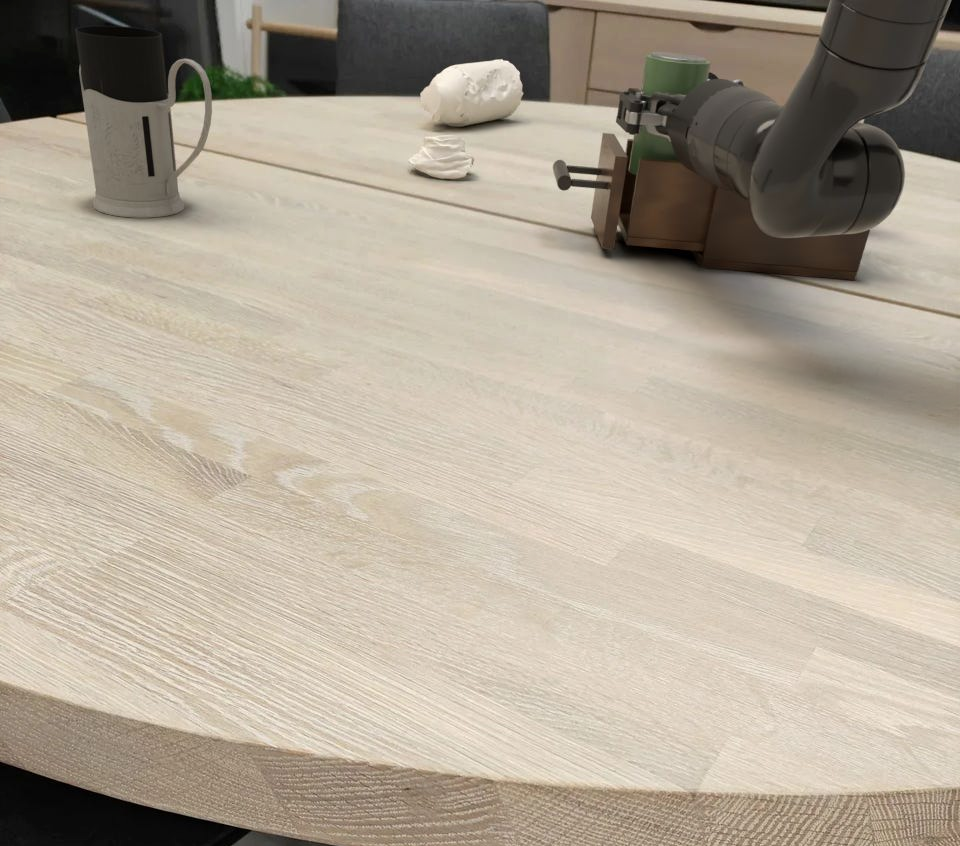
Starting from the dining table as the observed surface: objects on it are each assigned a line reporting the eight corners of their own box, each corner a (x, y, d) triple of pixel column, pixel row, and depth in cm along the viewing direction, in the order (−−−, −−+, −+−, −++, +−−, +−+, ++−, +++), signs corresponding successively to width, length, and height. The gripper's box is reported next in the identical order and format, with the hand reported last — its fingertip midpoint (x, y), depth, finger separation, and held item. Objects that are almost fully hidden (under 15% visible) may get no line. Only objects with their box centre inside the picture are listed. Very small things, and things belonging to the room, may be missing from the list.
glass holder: (135, 190, 104) (115, 22, 95) (246, 216, 100) (236, 43, 91) (73, 205, 98) (45, 27, 89) (189, 234, 93) (173, 50, 84)
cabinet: (700, 267, 98) (724, 156, 92) (679, 232, 108) (699, 130, 102) (855, 280, 99) (888, 170, 93) (819, 244, 109) (847, 143, 103)
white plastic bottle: (406, 126, 144) (407, 64, 139) (477, 113, 157) (481, 55, 152) (451, 136, 141) (454, 72, 136) (520, 122, 154) (525, 63, 149)
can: (683, 170, 101) (704, 55, 95) (693, 183, 96) (717, 63, 90) (624, 164, 101) (642, 49, 95) (632, 177, 96) (652, 57, 90)
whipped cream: (407, 184, 119) (406, 141, 116) (409, 166, 124) (408, 124, 121) (474, 185, 120) (474, 141, 116) (473, 167, 125) (473, 124, 121)
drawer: (552, 244, 97) (563, 151, 92) (545, 214, 106) (555, 128, 101) (746, 260, 98) (768, 169, 93) (723, 229, 107) (741, 145, 102)
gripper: (820, 91, 83) (737, 62, 96) (660, 81, 80) (596, 52, 93) (796, 187, 88) (720, 147, 101) (643, 181, 85) (585, 140, 98)
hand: (661, 102), depth 97 cm, fingers closed on can, 6 cm apart
